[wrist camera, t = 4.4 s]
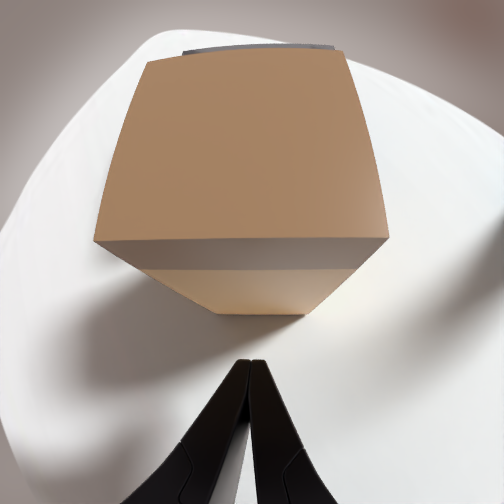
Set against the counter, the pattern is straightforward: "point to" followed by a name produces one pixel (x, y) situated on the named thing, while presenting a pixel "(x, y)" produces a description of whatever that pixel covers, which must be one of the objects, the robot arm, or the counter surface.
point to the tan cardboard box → (245, 180)
